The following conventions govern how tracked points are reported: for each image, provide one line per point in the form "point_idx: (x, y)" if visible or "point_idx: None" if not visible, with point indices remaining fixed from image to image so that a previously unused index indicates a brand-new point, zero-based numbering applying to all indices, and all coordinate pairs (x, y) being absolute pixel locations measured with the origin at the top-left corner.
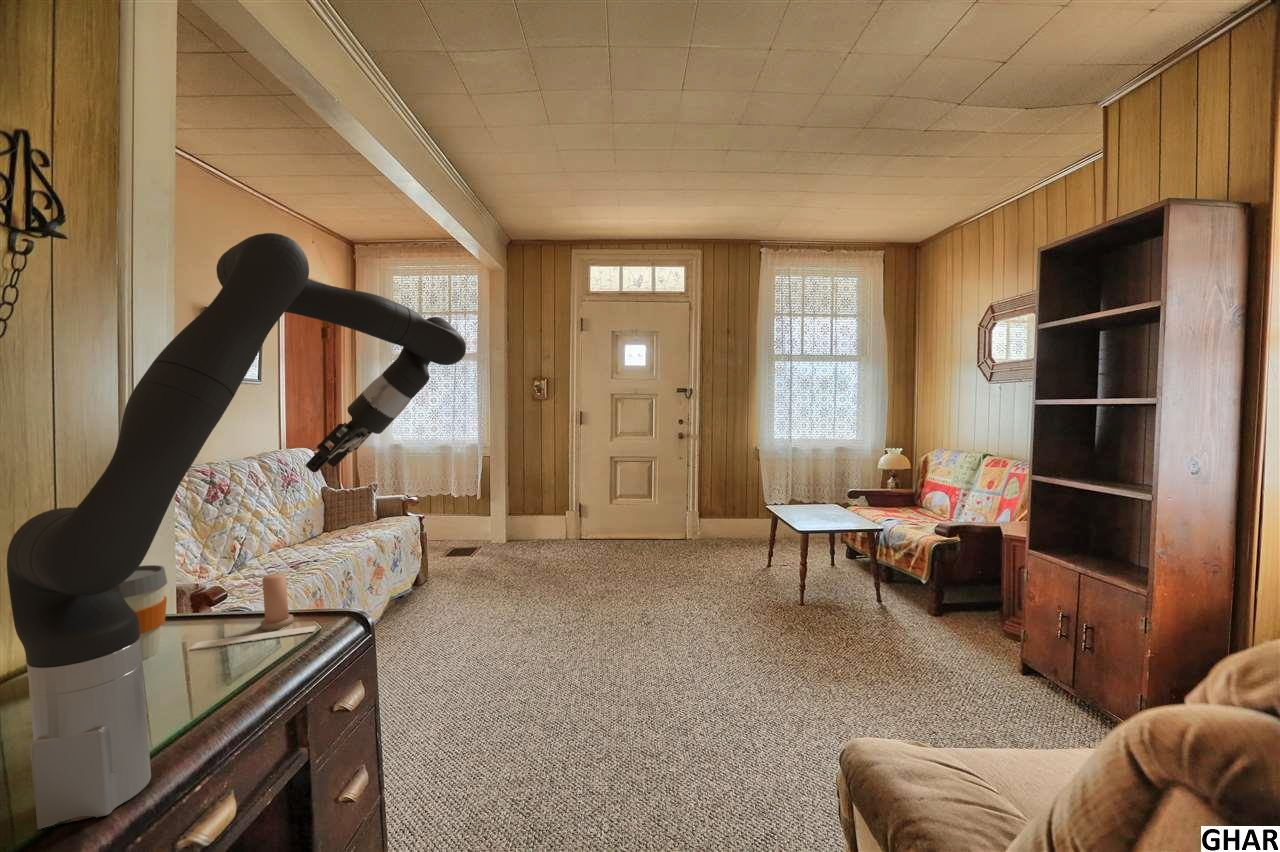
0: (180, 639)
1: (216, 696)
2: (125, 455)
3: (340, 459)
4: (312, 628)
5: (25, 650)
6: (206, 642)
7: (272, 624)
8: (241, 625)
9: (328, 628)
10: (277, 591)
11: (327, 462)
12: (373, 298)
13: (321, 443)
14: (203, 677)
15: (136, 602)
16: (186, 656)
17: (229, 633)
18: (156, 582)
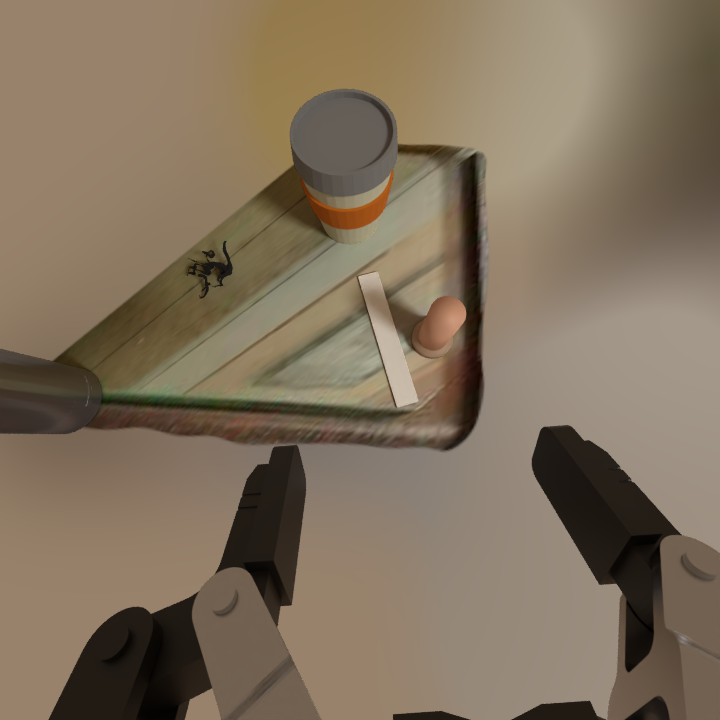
0: (395, 242)
1: (228, 388)
2: None
3: (563, 522)
4: (407, 401)
5: None
6: (376, 283)
7: (413, 341)
8: (435, 289)
9: (411, 422)
10: (431, 331)
11: (538, 437)
12: None
13: (67, 700)
14: (279, 342)
15: (318, 195)
16: (341, 284)
17: (408, 290)
18: (341, 188)
